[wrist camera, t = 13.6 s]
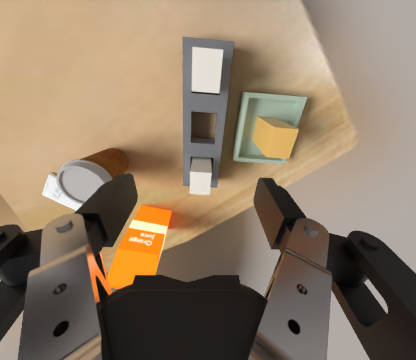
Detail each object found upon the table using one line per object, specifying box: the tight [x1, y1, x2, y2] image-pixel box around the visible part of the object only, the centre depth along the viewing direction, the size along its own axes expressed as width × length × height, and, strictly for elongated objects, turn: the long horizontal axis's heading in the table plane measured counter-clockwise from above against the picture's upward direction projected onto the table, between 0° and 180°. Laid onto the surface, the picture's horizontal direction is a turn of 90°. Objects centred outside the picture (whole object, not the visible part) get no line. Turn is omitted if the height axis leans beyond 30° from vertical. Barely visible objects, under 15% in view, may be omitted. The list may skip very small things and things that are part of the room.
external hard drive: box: [42, 173, 82, 211], centre depth 44 cm, size 2×8×12 cm
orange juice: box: [107, 205, 172, 289], centre depth 40 cm, size 8×9×20 cm
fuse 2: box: [190, 157, 212, 195], centre depth 36 cm, size 5×4×10 cm
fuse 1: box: [192, 47, 223, 93], centre depth 26 cm, size 5×4×10 cm
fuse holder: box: [183, 37, 234, 188], centre depth 34 cm, size 27×8×4 cm, turn 176°
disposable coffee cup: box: [56, 148, 128, 205], centre depth 34 cm, size 10×10×12 cm
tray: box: [232, 92, 307, 164], centre depth 35 cm, size 14×12×3 cm
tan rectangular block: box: [252, 117, 299, 159], centre depth 31 cm, size 5×4×10 cm
